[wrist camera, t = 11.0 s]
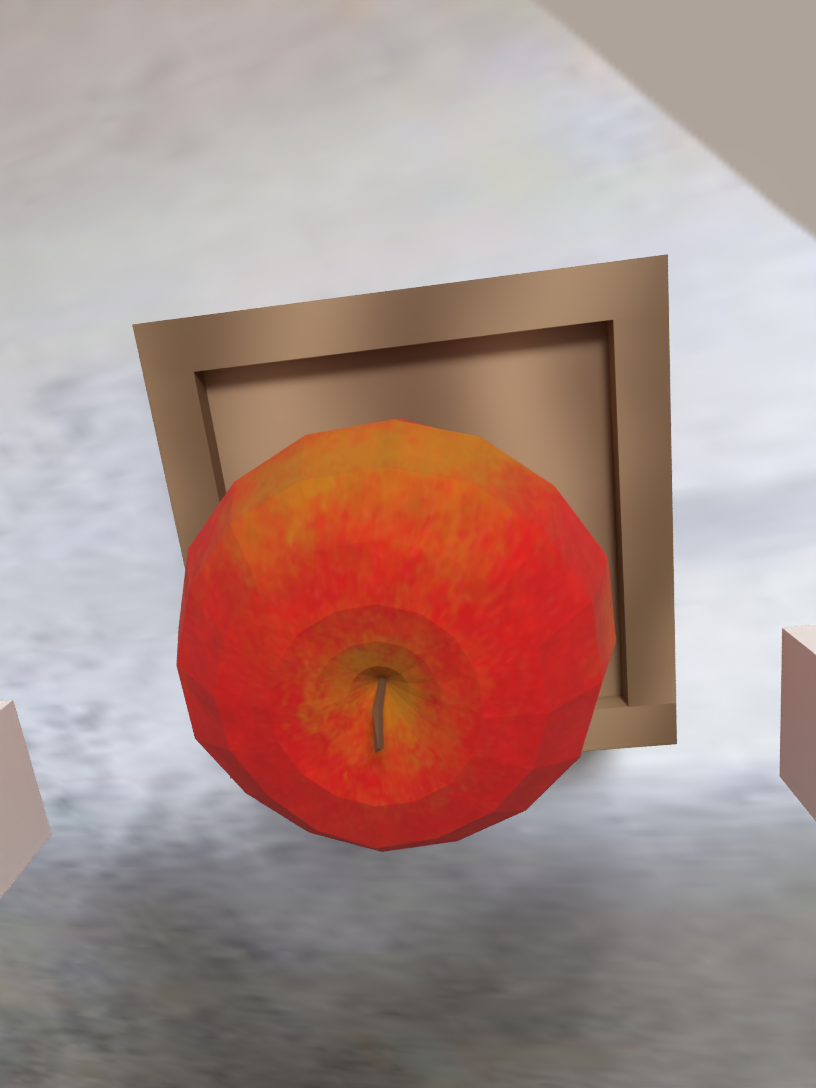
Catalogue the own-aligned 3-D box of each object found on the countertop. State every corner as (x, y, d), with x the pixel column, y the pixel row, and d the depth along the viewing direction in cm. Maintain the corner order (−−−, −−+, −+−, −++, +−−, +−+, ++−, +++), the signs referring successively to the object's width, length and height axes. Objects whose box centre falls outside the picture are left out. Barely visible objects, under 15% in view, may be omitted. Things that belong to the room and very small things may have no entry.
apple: (592, 436, 21) (767, 532, 10) (517, 700, 24) (587, 1031, 12) (290, 369, 21) (105, 386, 10) (245, 641, 24) (55, 917, 12)
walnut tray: (275, 685, 31) (230, 778, 24) (208, 327, 27) (132, 324, 20) (625, 654, 30) (676, 744, 23) (610, 275, 26) (667, 254, 19)
